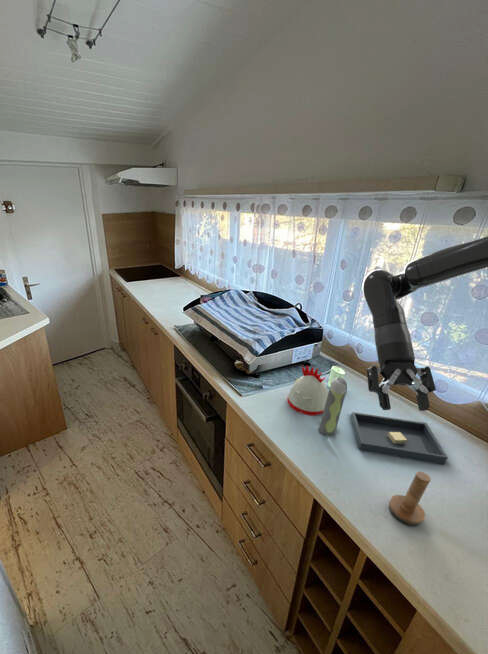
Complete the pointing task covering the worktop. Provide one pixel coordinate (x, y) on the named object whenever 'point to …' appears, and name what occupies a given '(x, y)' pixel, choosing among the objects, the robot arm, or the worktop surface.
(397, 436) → the cream flat block
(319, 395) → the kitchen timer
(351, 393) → the worktop surface
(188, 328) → the worktop surface
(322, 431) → the grey green rod
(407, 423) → the tray
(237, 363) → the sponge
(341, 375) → the light green cylinder
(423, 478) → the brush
